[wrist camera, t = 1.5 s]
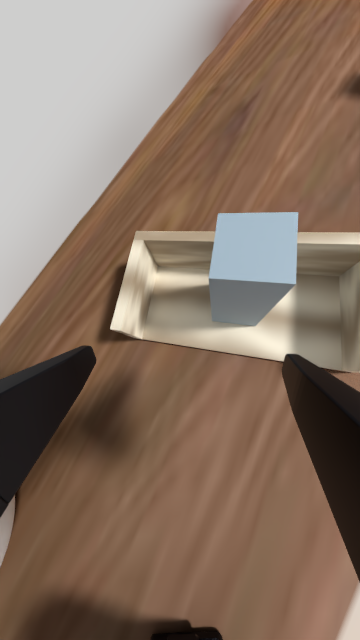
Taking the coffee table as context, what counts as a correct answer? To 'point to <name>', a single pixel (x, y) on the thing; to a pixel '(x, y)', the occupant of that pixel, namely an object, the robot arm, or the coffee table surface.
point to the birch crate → (256, 341)
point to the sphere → (6, 528)
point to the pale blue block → (252, 265)
